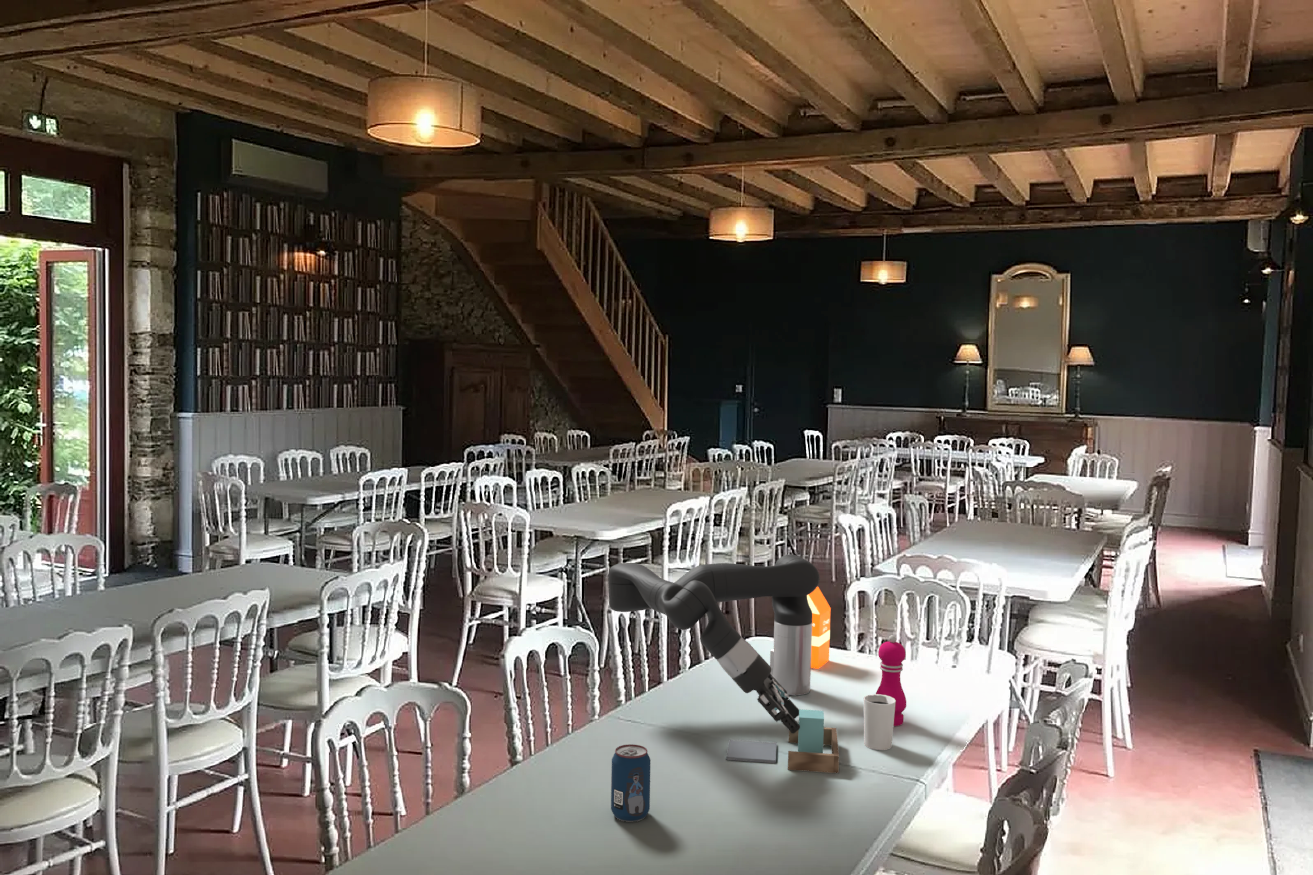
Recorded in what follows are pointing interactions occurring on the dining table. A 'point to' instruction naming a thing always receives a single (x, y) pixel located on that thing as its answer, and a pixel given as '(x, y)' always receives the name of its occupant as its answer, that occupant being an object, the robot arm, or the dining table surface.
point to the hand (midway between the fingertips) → (797, 723)
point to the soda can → (630, 783)
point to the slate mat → (751, 751)
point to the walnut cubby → (815, 755)
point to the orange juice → (819, 628)
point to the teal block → (811, 731)
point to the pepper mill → (892, 675)
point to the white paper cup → (878, 721)
